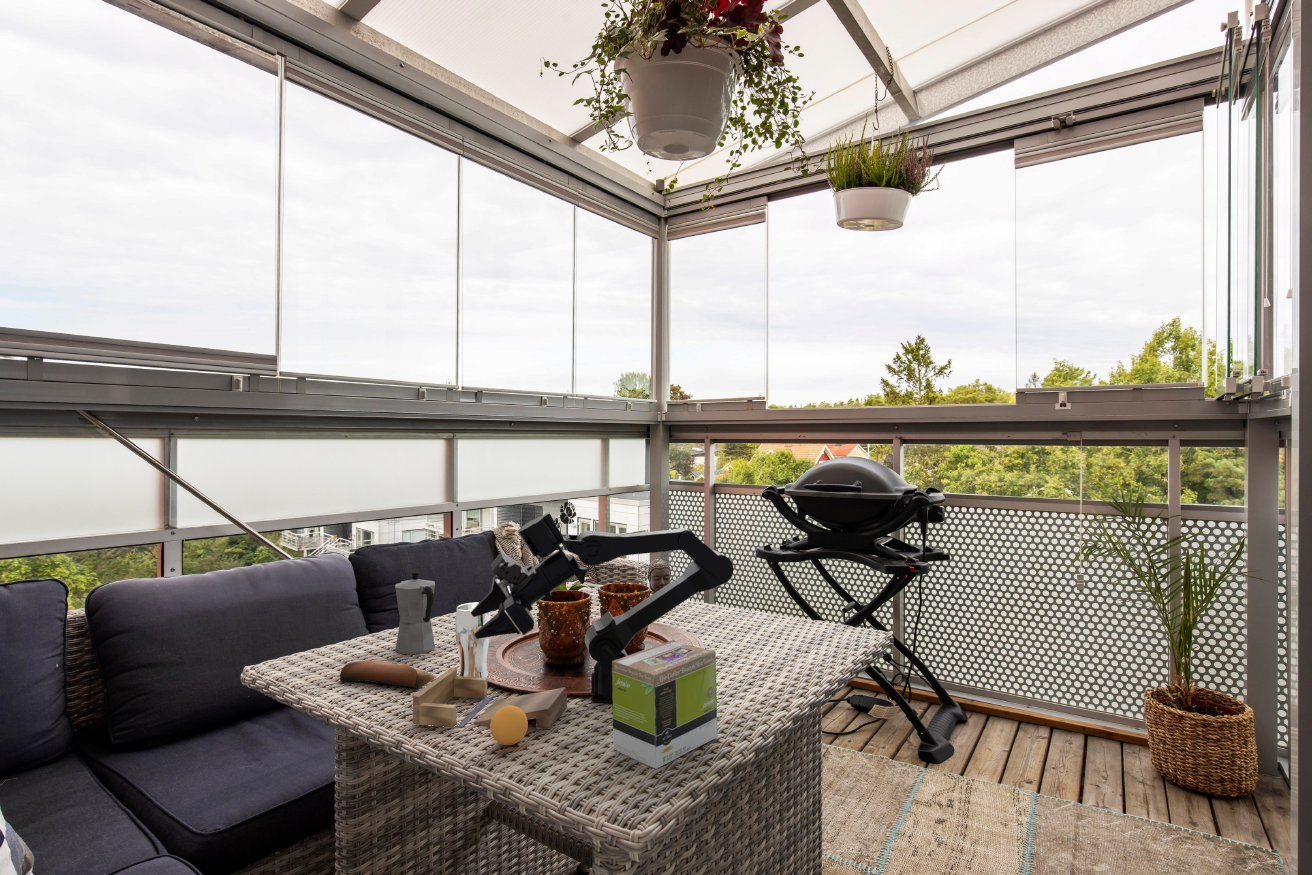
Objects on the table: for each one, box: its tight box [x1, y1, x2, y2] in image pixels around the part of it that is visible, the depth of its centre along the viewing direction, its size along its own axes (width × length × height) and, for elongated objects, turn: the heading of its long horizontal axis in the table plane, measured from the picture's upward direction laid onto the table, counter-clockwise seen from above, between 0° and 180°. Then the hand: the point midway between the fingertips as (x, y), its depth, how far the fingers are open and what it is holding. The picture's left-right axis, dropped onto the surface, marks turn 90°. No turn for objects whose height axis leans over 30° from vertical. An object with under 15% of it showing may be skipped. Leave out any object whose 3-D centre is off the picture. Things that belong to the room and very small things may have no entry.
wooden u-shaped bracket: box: [412, 667, 494, 728], centre depth 126 cm, size 9×14×5 cm, turn 170°
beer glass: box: [454, 602, 491, 678], centre depth 141 cm, size 7×7×15 cm
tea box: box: [612, 639, 718, 770], centre depth 112 cm, size 15×10×15 cm, turn 136°
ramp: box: [473, 686, 568, 731], centre depth 124 cm, size 14×10×5 cm
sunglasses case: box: [339, 660, 438, 690], centre depth 141 cm, size 18×7×7 cm
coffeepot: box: [394, 570, 436, 655], centre depth 160 cm, size 15×9×18 cm, turn 43°
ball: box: [489, 705, 529, 746], centre depth 113 cm, size 6×6×6 cm
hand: (473, 625), depth 127 cm, fingers open, 9 cm apart
